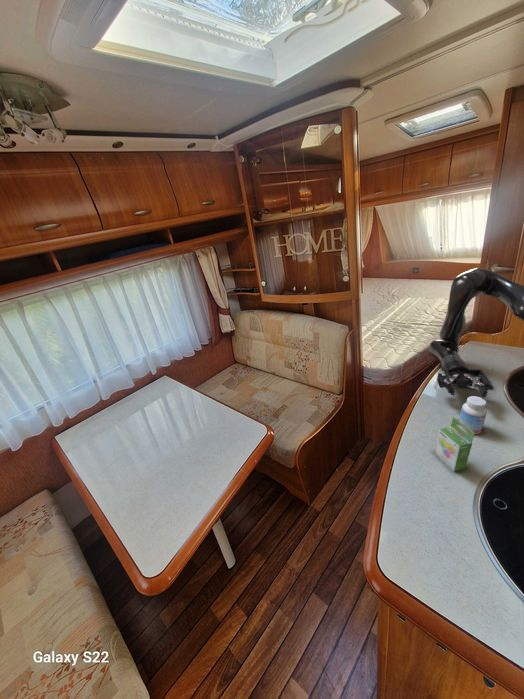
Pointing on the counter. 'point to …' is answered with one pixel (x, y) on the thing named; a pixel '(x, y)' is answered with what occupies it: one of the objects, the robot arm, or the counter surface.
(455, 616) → the counter surface
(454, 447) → the ink box
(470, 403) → the pill bottle
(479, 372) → the socket pad
